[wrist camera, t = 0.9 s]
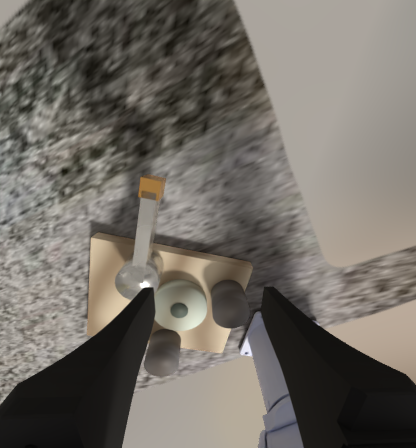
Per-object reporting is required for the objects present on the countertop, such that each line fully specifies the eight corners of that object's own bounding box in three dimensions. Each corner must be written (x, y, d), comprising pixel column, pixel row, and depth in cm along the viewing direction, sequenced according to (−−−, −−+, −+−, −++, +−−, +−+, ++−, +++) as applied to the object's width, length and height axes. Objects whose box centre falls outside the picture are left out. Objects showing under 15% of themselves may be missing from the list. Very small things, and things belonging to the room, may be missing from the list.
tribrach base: (250, 261, 24) (261, 286, 19) (219, 348, 28) (222, 383, 24) (98, 232, 22) (71, 252, 17) (92, 330, 26) (71, 366, 22)
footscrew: (180, 180, 18) (176, 185, 15) (160, 283, 22) (154, 304, 19) (137, 170, 18) (124, 173, 15) (125, 277, 22) (113, 297, 19)
